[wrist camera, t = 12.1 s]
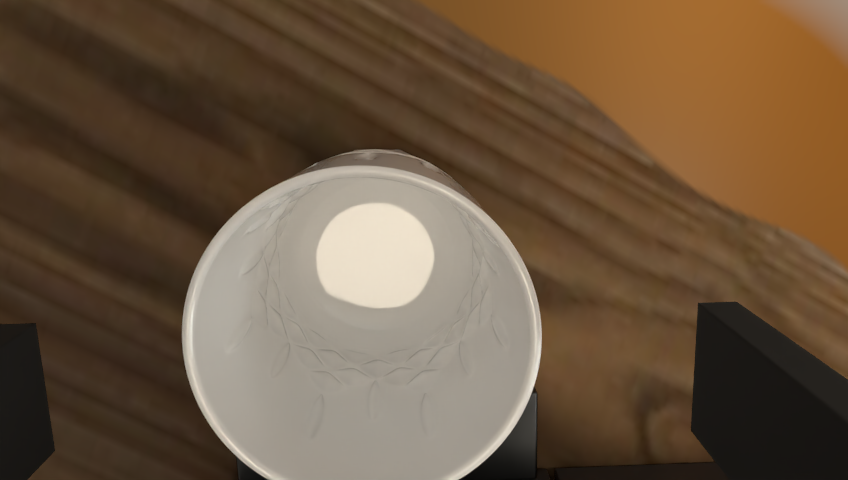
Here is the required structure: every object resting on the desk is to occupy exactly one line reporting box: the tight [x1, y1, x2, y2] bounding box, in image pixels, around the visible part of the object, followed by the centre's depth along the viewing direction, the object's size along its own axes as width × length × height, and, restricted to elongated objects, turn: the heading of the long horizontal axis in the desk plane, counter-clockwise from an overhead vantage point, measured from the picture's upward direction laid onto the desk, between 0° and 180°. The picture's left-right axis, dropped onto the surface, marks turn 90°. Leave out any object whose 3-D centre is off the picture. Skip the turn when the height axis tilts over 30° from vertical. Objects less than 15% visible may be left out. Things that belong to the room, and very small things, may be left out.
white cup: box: [182, 149, 542, 480], centre depth 21 cm, size 8×8×10 cm
